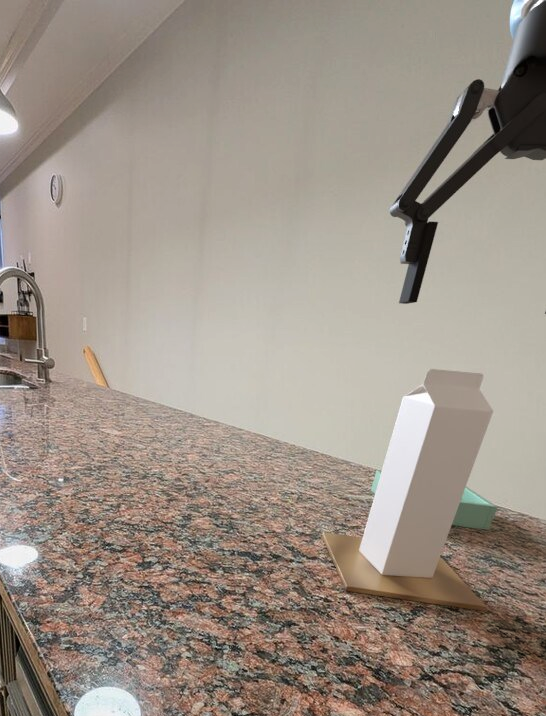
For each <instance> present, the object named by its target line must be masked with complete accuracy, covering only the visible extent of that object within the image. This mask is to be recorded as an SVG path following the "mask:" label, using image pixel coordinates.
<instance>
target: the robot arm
mask: <svg viewBox="0 0 546 716" xmlns="http://www.w3.org/2000/svg"><path fill="white" fill-rule="evenodd" d="M509 31H510V36H511V38H512V42H511V45H510V48H509V53H508V56H507V59H506V62H505V67H504V70H503V74H502V80H501V84H500V86H499V88H498V89H493V88H487V87H485V82H484V81H483V79H480V78H477V79H475V80H473V81H472V82H471V83H470V84H469V85H468V86H467V87H466V88H465V89H464V90H463V91H462V92H461V93H460V94H459V95H458V96H457V97H456V99H455V101H454V104H453V106H452V110H451V112H450V115H449V118H448V121H447V122H446V126H444V128H443V130H442V131H441V133H440V135H439V136H438V137H437V139H436V140H435V142H433V145H432V146H431V148H430V149H429V150H428V152H427V153H426V155H425V156H424V157H423V159H422V161H421V162H420V164H419V165H418V166H417V168H416V169H415V171H414V172H413V174H412V175H411V177H410V178H409V180H408V181H407V183H406V184H405V186H404V187H403V189H402V190H400V191H401V192H400V193H399V194H398V196H397V197H396V199H395V200H394V202H393V203H392V204H391V206H390V209H389V214H390V216H391V217H393V218H398V219H401V220H403V221H404V225H405V227H406V232H405V235H404V239H403V242H402V243H403V244H402V247H401V251H400V255H399V261H400V262H399V263H400V264H401V265H407V269H406V274H405V276H404V277H405V278H404V281H403V285H402V289H401V293H400V297H399V301H398V304H403V305H408V304H413V303H417V302H418V299H419V296H420V292H421V288H422V285H423V281H424V277H425V274H426V270H427V266H428V262H429V259H430V254H431V250H432V247H433V244H434V240H435V236H436V231H437V229H438V224H439V221H429V218H430V217H432V216H433V215H434V214H435V213H436V212H437V211H438V210H439V209H440V208H441V207H442V206H443V205H444V204H445V203H446V202H448V200H450V199H451V197H453V196H454V195H455V194H456V193H457V192H458V191H459V190H460V189H461V188H462V187H464V185H465V184H467V182H468V181H469V180H471V179H472V178H473V177H474V176H475V175H476V174H477V173H478V172H479V171H481V169H483V168H484V167H485V165H487V164H488V163H489V162H490V161H491V160H493V158H494V157H496V155H497V154H499V153H501V154H502V155H503V156H504V160H516V159H520V158H527V159H529V160H532V161H544V160H546V0H513V1H512V5H511V9H510V13H509ZM484 111H487V117H488V120H489V123H490V126H491V129H492V134H491V135H490V136H489V137H488V138H487V139H486V140H485V141H484V142H483V143H482V144H481V145H480V146H479V147H478V148H477V149H476V150H474V152H473V153H472V154H471V155H470V156H469V157H468V158H466V160H465V161H464V162H463V163H462V164H461V165H460V166H459V167H457V169H455V170H454V171H453V172H452V173H451V174H449V176H448V177H447V178H446V179H445V180H444V181H443V182H442V183H440V185H439V186H438V187H437V188H436V189H435V190H434V191H433V192H432V193H430V194H429V196H428V197H426V198H425V199H424V200H423V201H422V202H418V201H417V199H418V198H419V196H420V195H421V194H422V192H423V191H424V189H425V188H426V187H427V185H428V183H429V182H430V181H431V179H432V178H433V177H434V176H435V174H436V172H437V171H438V169H439V168H440V167H441V165H442V164H443V163H444V161H445V159H446V158H447V157H448V155H449V154H450V153H451V151H452V150H453V148H454V146H455V145H456V144H457V142H458V141H459V140H460V138H461V137H462V135H463V134H464V132H465V131H466V129H467V128H468V126H469V125H470V124H472V123H474V122H475V121H476V120H477V119H479V117H481V116H482V115H483V113H484ZM544 315H546V310H545V312H544Z"/></svg>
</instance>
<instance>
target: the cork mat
mask: <svg viewBox="0 0 546 716" xmlns="http://www.w3.org/2000/svg"><path fill="white" fill-rule="evenodd" d="M321 538H322V540H323V542H324V545H325V547H326V548H327V551H328V554H329V556H330V559H331V561H332V563H333V565H334V567H336V568H335V570H336V573H337V574H338V577H339V579H340V581H341V583H342V586H343V588H344V591H346V592H352V593H359V594H366V595H370V596H371V595H373V596H379V597H385V598H392V599H399V600H405V601H406V600H407V601H413V602H419V603H425V604H434V605H439V606H446V607H452V608H459V609H465V610H466V609H467V610H473V611H480V612H486V610H487V608H488V606H487V605H486V604H485V603H484V602H483V601H482V600H481V599H480V598H479V596H478V595H477V594H476V593H475V592H474V591H473V590H472V589H471V588H470V587H469V586H468V585H467V584H466V583H465V581H464V580H463V579H462V578H461V577H460V576H459V575H458V574H457V573H456V571H455V570H453V568H452V567H451V566H450V565H449V564H448V563H447V562H446V561H445V560H444V559H443V558H442V557H441V556H440V558H439V561H438V564H437V566H436V569H435V572H434V574H433V577H432V578H423V577H406V576H389V575H382V574H381V573H380V572H379V571H378V570H377V569H376V568H375V567H374V566H373V565H372V564H371V563H370V562H369V561H368V560H367V559H366V558H365V557H364V556H363V554H362V553H361V552H360V551H359V549H360V545H361V542H362V538H363V537H360V536H353V535H345V534H339V533H331V532H322V533H321Z"/></svg>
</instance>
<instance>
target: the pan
mask: <svg viewBox="0 0 546 716" xmlns="http://www.w3.org/2000/svg"><path fill="white" fill-rule="evenodd" d="M381 472H382V470H379V469H376V470H375V473H374V478H373V481H372V485H371V488H370V491H371V492H372V493H373V494H374V495H375V493H376V489H377V486H378V482H379V479H380V475H381ZM497 510H498V506H497V505H496V504H494V503H493V502H492V501H489V500H488V499H486V498H485V497H483V496H482V495H481V494H479V493H477V492H476V491H474V490H473V489H471V488H469V487H468V486H466V487H465V490H464V493H463V495H462V498H461V501H460V504H459V506H458V509H457V512H456V514H455V517H454V520H453V523H452V525H451V526H456V527H463V528H471V529H479V530H486V531H489V530H490V527H491V525H492V522H493V520H494V517H495V515H496V513H497Z"/></svg>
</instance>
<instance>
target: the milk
mask: <svg viewBox="0 0 546 716" xmlns="http://www.w3.org/2000/svg"><path fill="white" fill-rule="evenodd" d="M483 380H484V374H483V373H480V372H470V371H459V370H449V369H448V370H447V369H437V368H436V369H435V368H429V369H428V370H427V371H426V373H425V376H424V379H423V382H422V384H421V385H419V386H417V387H416V388H414V389H413V390H412V391H410V392H409V393H407V394H405V395H403V397H402V398H401V403H400V405H399V410H398V413H397V416H396V419H395V423H394V427H393V430H392V435H391V437H390V441H389V444H388V448H387V451H386V455H385V458H384V461H383V464H382V465H383V466H382V468H381V471H382V472H381V475H380V479H379V482H378V486H377V489H376V493H375V494H374V497H373V500H372V504H371V508H370V510H369V513H368V514H369V515H368V517H367V520H366V521H367V522H366V524H365V525H366V526H365V528H364V532H363V535H362V537H361V538H362V542H361V545H360V549H359V551H360V552H361V553H362V554H363V556H364V557H365V558H366V559H367V560H368V561H369V562H370V563H371V564H372V565H373V566H374V567H375V568H376V569H377V570H378V571H379V572H380V573H381V574H382V575H389V576H406V577H423V578H432V577H433V574H434V572H435V569H436V566H437V564H438V561H439V558H440V557H441V555H442V552H443V549H444V547H445V544H446V542H447V539H448V536H449V534H450V531H451V528H452V526H453V525H452V523H453V520H454V517H455V514H456V512H457V509H458V506H459V504H460V501H461V498H462V495H463V493H464V490H465V487H467V485H468V482H469V479H470V476H471V473H472V471H473V468H474V465H475V462H476V460H477V457H478V454H479V452H480V449H481V446H482V443H483V441H484V437H485V435H486V432H487V430H488V427H489V424H490V422H491V419H492V416H493V413H494V410H493V407H492V406H491V405H490V404H489V402H488V400H487V398H486V397H485V396H484V393H483V392H482V391H481V390H480V389H481V386H482V382H483Z"/></svg>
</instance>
